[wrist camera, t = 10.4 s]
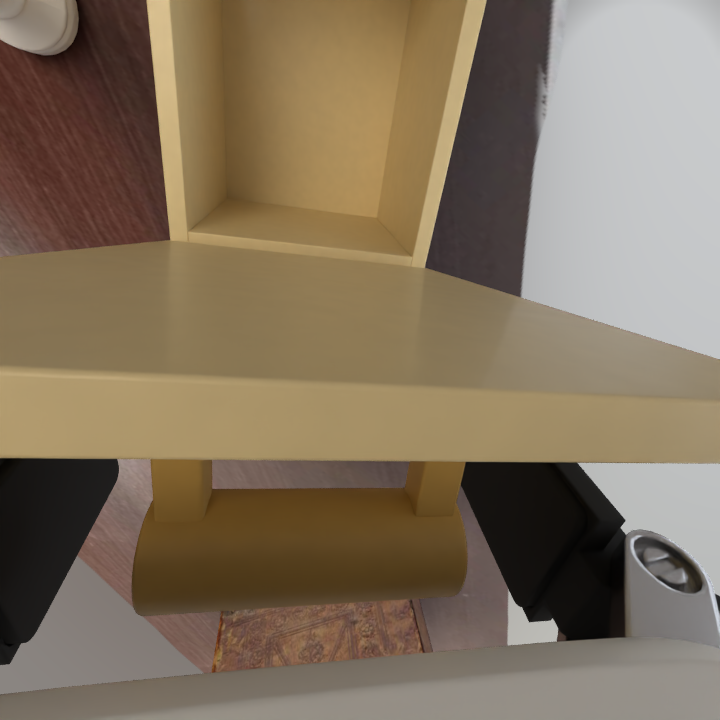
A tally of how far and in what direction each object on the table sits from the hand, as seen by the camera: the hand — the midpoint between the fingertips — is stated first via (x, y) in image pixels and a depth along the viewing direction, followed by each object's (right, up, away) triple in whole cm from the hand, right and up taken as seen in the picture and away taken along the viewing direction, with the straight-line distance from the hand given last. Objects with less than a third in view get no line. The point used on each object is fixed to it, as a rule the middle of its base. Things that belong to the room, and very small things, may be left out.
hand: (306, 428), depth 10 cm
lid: (0, +4, +1) cm, 4 cm away
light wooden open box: (-2, +19, +16) cm, 25 cm away
